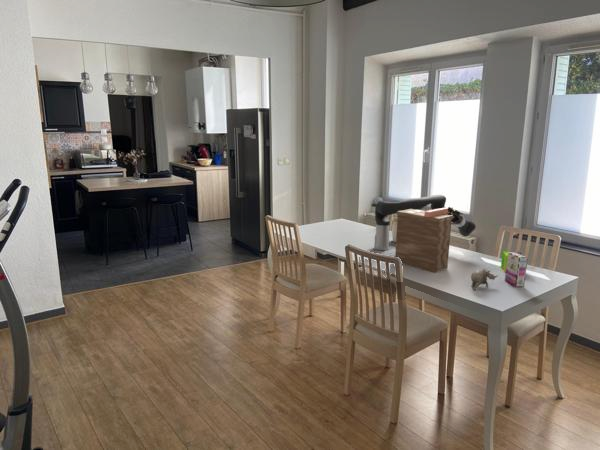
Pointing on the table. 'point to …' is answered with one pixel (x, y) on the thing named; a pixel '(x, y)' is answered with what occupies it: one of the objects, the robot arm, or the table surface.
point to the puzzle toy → (505, 260)
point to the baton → (437, 212)
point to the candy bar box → (516, 269)
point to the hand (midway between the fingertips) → (446, 208)
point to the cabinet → (423, 239)
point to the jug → (394, 229)
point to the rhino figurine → (481, 278)
